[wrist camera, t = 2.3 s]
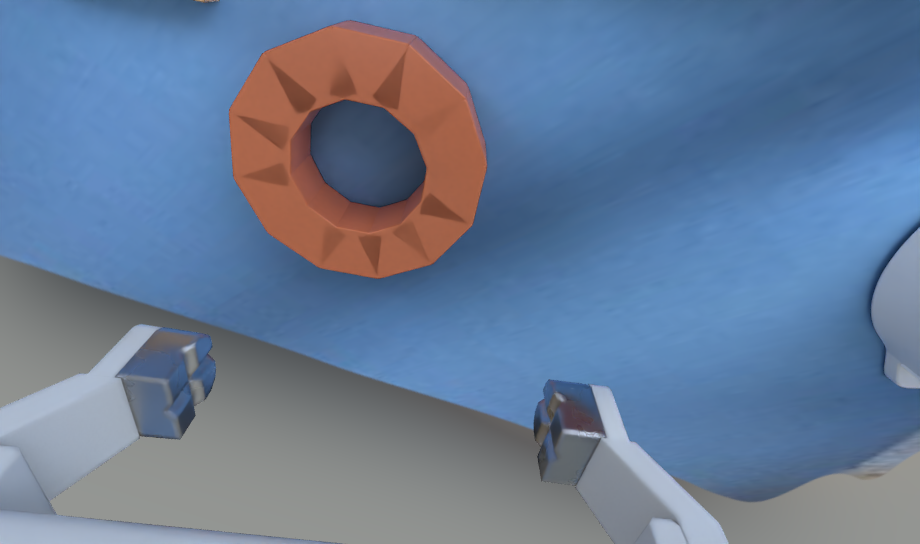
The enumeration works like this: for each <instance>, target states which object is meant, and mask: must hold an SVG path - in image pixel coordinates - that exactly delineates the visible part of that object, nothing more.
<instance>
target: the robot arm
mask: <svg viewBox="0 0 920 544" xmlns="http://www.w3.org/2000/svg"><path fill="white" fill-rule="evenodd" d="M871 317H872V322H873V325H874V328H875V330H876V332H877V334H878V335H879V337H880V338H881V340H882V341H883V343H884V345H885V347H886V356H885V363H884V372H885V375H886V376H887V377H888V378H889V379H890V380H892V381H893V382H894V383H896V384H897V385H898V386H900V387H903V388H919V389H920V227H919V228H918V229H917V230H916V231H915V232H914V233H913V234H912V235H911V236H910V237H909V238H908V239H907V240H906V241H905V243H904V244H903V245H902V246H901V247H900V248H899V249H898V251H897V252H896V253H895V254H894V256H893V257H892V259H891V260H890V261H889V263H888V264H887V266H886V268H885V269H884V271H883V273H882V274H881V276H880V278H879V281H878V283H877V285H876V288H875V291H874V294H873V298H872V304H871ZM211 348H212V342H211V338H210V336H209V335H207V334H203V333H197V332H191V331H184V330H178V329H172V328H165V327H155V326H150V325H144V324H140V325H137V326H135V327H133V328H132V329H131V330H130V331H129V332H128V333H127V334H126V335H125V336H124V337H123V338H122V339H121V340H120V341H119V342H118V343H117V344H116V345H115V346H114V347H113V348H112V349H111V350H110V351H109V352H108V353H107V354H106V355H105V356H104V357H103V358H102V359H101V360H100V361H99V362H98V363H97V364H96V365H95V366H94V367H93V368H92V370H91V371H90V372H89V373H88V374H82V373H79V374H77V375H75V376H72V377H70V378H68V379H66V380H63V381H61V382H58V383H56V384H54V385H52V386H49V387H47V388H45V389H42V390H40V391H38V392H36V393H33V394H31V395H29V396H26V397H24V398H22V399H19V400H17V401H15V402H12V403H10V404H8V405H5V406H3V407H1V408H0V544H341V543H331V542H321V541H311V540H300V539H290V538H281V537H271V536H261V535H251V534H241V533H232V532H222V531H212V530H201V529H192V528H182V527H171V526H162V525H152V524H142V523H132V522H122V521H112V520H101V519H92V518H82V517H72V516H62V515H57V514H56V512H55V510H54V509H53V507H52V505H51V503H50V500H52V499H53V498H55V497H56V496H58V495H59V494H60V493H62V492H63V491H65V490H66V489H68V488H69V487H71V486H72V485H73V484H75V483H76V482H77V481H79V480H80V479H82V478H83V477H85V476H86V475H88V474H89V473H91V472H92V471H94V470H95V469H96V468H98V467H99V466H101V465H102V464H103V463H105V462H106V461H108V460H109V459H111V458H112V457H114V456H115V455H116V454H118V453H119V452H121V451H122V450H124V449H125V448H127V447H128V446H129V445H131V444H132V443H134V442H135V441H137V440H138V439H139V438H140V436H145V437H156V438H168V439H179V440H180V439H181V438H182V436H183V434H184V433H185V431H186V429H187V428H188V426H189V425H190V423H191V422H192V420H193V419H194V417H195V411H194V406H196V405H197V404H199V403H201V402H203V401H204V400H205V399H206V398H207V396H208V394H209V393H210V391H211V389H212V386H213V383H214V380H215V373H216V366H215V360H214V359H213V358H211V356H210V355H208V352H209V351H210V350H211ZM543 392H544V399H543V400H541V401H540V402H538V405H537V408H536V411H535V417H534V436H535V441H536V442H537V443H538V444H539V445H540V447H541V449H540V451H539V454H538V463H539V469H540V476H541V481H544V482H551V483H558V484H565V485H572V486H576V487H575V488H576V490H577V491H578V492H579V494H580V495H581V497H582V498H583V500H584V501H585V502H586V504H587V505H588V507H589V508H590V510H591V511H592V512H593V514H594V515H595V517H596V518H597V520H598V521H599V523H600V524H601V525H602V527H603V528H604V530H605V531H606V533H607V534H608V535H609V537H610V538H611V540H612V541H613V542H614V544H729V543H728V541H727V539H726V536H725V534H724V532H723V530H722V528H721V526H720V523H719V522H718V521H716V520H715V519H714V518H713V517H712V516H711V515H710V514H709V513H708V512H707V511H706V510H705V509H704V508H703V507H702V506H701V505H700V504H699V503H698V502H697V501H696V500H695V499H694V498H692V496H691V495H690V494H689V493H688V492H687V491H685V490H684V489H683V488H682V487H681V486H680V485H679V484H678V483H677V482H676V481H675V480H674V479H673V478H672V477H671V476H670V475H669V474H668V473H667V472H666V471H665V470H664V469H663V468H662V467H661V466H660V465H659V464H658V463H657V462H656V461H654V460H653V459H652V458H651V457H650V456H649V455H648V454H647V453H646V452H645V451H644V450H643V449H642V448H641V447H640V446H639V445H638V444H637V443H636V442H631V441H629V438H628V435H627V433H626V430H625V427H624V424H623V422H622V419H621V416H620V413H619V411H618V408H617V405H616V402H615V400H614V397H613V394H612V391H611V389H610V388H609V387H607V386H599V385H591V384H588V385H587V384H582V383H574V382H566V381H558V380H550V379H549V380H548V381H547V382H546V384H545V387H544V389H543Z"/></svg>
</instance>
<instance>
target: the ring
mask: <svg viewBox="0 0 920 544" xmlns="http://www.w3.org/2000/svg"><path fill="white" fill-rule="evenodd" d="M342 100H350V101H354V102H359V103H363V104H368V105H373V106H377V107H382V108H384V109H385V110H387V111H388V112H389V113H390V114H391V115H392V116H394V117H395V118H396V119H397V120H398V121H399V122H400V123H402V124H403V125H404V126H405V127H406V128H407V129H409V130H410V131H411V132H412V133H413V134H414V136H415V139H416V141H417V144H418V147H419V149H420V152H421V154H422V157H423V160H424V162H425V165H426V168H427V169H426V175H425V180H424V182H423V183H422V184H421V185H420V186H419V187H418V188H417V189H416V190H415V192H414V193H413V194H412V195H411V196H410V197H409V198H408V199H407V200H404V201H400V202H397V203H394V204H391V205H387V206H384V207H381V208H379V207H374V206H369V205H364V204H359V203H354V202H350V201H349V200H348V199H346V198H345V197H344V196H342V195H341V194H340V193H338V192H337V191H336V190H334V189H333V188H332V187H330V186H329V185H328V184H326V183H325V182H324V180H323V178H322V176H321V174H320V172H319V170H318V168H317V166H316V164H315V162H314V160H313V158H312V156H311V154H310V144H311V122H312V121H313V119H314V118H315V117H316V115H317V114H318V112H319V111H320V109H321V108H323V107H325V106H328V105H331V104H334V103H337V102H339V101H342ZM229 121H230V136H231V151H232V166H233V176H234V180H235V181H236V183H237V184H238V186H239V188H240V189H241V191H242V193H243V194H244V196H245V197H246V199H247V201H248V202H249V204H250V205H251V207H252V209H253V210H254V212H255V213H256V215H257V217H258V218H259V220H260V221H261V223H262V225H263V226H264V228H265V229H266V231H267V232H268V234H270V235H271V236H273V237H274V238H276V239H277V240H279V241H280V242H282V243H283V244H285V245H286V246H287V247H289V248H290V249H292V250H293V251H295V252H296V253H298V254H299V255H301V256H302V257H304V258H305V259H307V260H308V261H310V262H311V263H313V264H314V265H316V266H317V267H319V268H322V269H327V270H333V271H338V272H343V273H349V274H354V275H360V276H365V277H370V278H376V279H377V278H378V279H380V278H384V277H387V276H391V275H395V274H398V273H402V272H406V271H410V270H413V269H417V268H421V267H425V266H428V265H431V264H433V263H434V262H435V261H436V260H437V259H438V258H439V257H440V256H441V255H442V254H443V253H445V252H446V251H447V250H448V249H449V248H450V247H451V246H452V245H453V244H454V243H455V242H456V241H457V240H458V239H459V238H460V237H461V236H462V235H463V234H464V233H465V232H466V231H467V230H468V229H469V228H470V227H471V226H472V224H473V221H474V217H475V213H476V209H477V205H478V201H479V197H480V193H481V189H482V185H483V181H484V177H485V173H486V169H487V158H486V144H485V141H484V137H483V134H482V131H481V127H480V124H479V121H478V117H477V114H476V111H475V107H474V104H473V101H472V97H471V94H470V91H469V87H468V86H467V84H466V82H465V81H464V80H462V79H461V78H460V77H459V76H458V75H457V74H456V73H455V72H454V71H453V70H452V69H451V68H450V67H449V66H448V65H447V64H446V63H445V62H444V61H443V60H442V59H441V58H440V57H439V56H438V55H437V54H435V53H434V52H433V51H432V50H431V49H430V48H429V47H428V46H427V45H426V44H425V43H424V42H423V41H422V40H421V39H420V38H419V37H417V36H416V35H411V34H407V33H403V32H399V31H394V30H390V29H386V28H382V27H377V26H373V25H369V24H365V23H360V22H356V21H352V20H349V21H344V22H341V23H337V24H334V25H331V26H328V27H326V28H323V29H321V30H318V31H316V32H313V33H310V34H308V35H305V36H303V37H300V38H298V39H295V40H293V41H290V42H288V43H285V44H283V45H280V46H278V47H275V48H272V49H270V50H267V51H265V52H264V53H262V55H261V56H260V58H259V60H258V61H257V63H256V65H255V67H254V68H253V70H252V72H251V73H250V75H249V77H248V78H247V80H246V82H245V84H244V85H243V87H242V89H241V90H240V92H239V94H238V95H237V97H236V99H235V100H234V102H233V104H232V106H231V107H230V109H229Z"/></svg>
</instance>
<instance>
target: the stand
mask: <svg viewBox="0 0 920 544" xmlns="http://www.w3.org/2000/svg"><path fill="white" fill-rule="evenodd" d="M194 1H198V2H203V3H206V2H218V1H220V0H194Z"/></svg>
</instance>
